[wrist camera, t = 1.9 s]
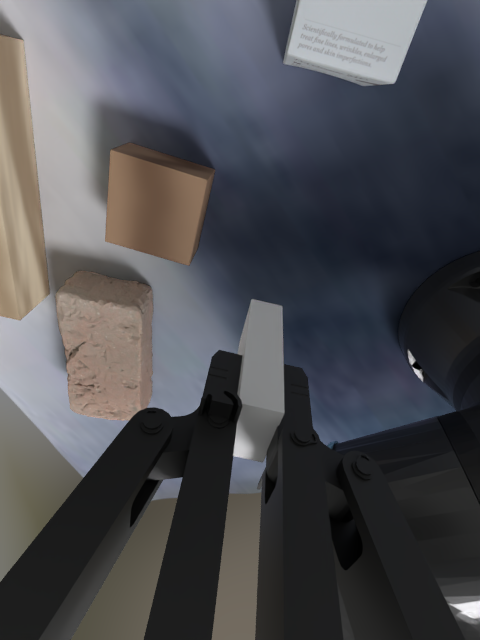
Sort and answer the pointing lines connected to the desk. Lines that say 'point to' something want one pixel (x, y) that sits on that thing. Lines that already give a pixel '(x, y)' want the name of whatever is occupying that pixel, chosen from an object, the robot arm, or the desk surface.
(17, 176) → the board
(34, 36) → the desk surface
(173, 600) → the robot arm
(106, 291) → the brick
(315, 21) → the skincare box
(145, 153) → the block
